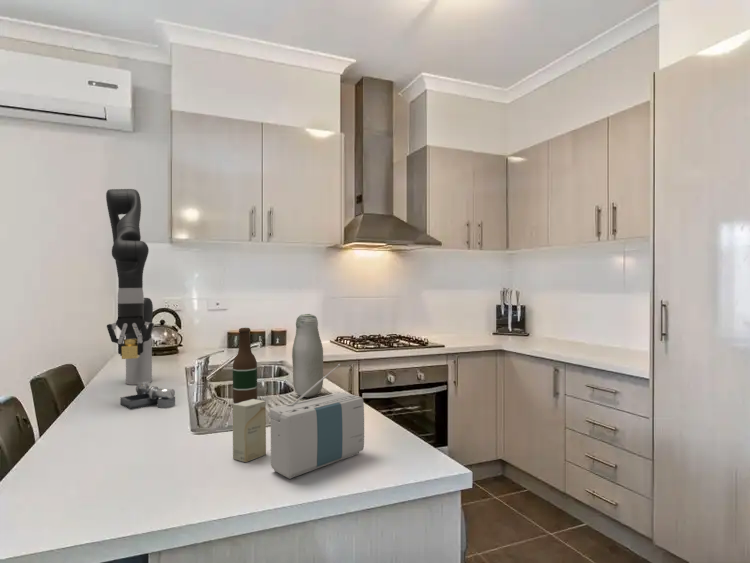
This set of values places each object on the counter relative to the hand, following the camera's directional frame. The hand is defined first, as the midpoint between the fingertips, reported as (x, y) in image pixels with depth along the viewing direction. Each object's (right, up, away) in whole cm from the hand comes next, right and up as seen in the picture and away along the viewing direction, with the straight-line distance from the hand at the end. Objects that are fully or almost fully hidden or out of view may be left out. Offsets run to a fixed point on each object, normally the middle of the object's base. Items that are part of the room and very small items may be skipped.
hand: (131, 354), depth 155 cm
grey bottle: (+56, -16, +8) cm, 59 cm away
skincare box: (+51, -16, -48) cm, 72 cm away
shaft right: (+11, -16, -3) cm, 20 cm away
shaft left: (+1, -16, +7) cm, 18 cm away
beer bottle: (+36, -16, +2) cm, 40 cm away
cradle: (+3, -16, -1) cm, 16 cm away
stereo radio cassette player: (+67, -16, -52) cm, 86 cm away
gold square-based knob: (0, -1, 0) cm, 1 cm away
